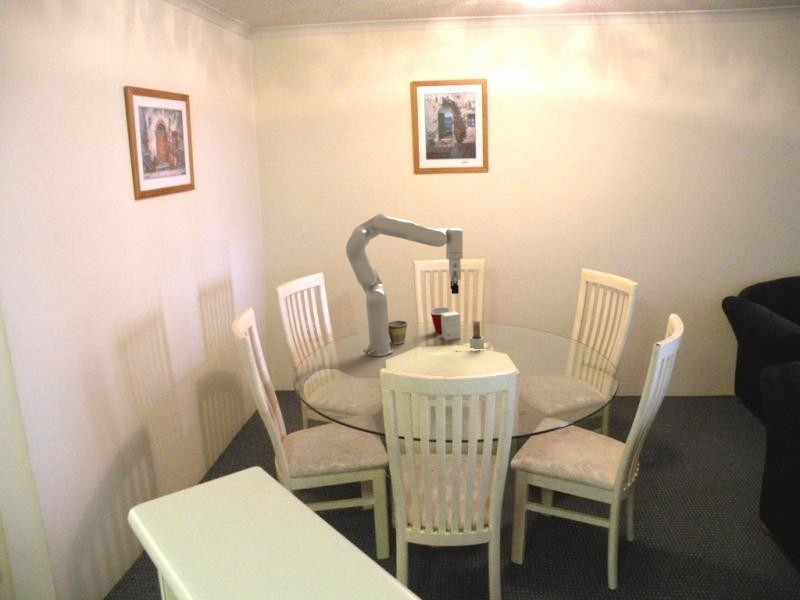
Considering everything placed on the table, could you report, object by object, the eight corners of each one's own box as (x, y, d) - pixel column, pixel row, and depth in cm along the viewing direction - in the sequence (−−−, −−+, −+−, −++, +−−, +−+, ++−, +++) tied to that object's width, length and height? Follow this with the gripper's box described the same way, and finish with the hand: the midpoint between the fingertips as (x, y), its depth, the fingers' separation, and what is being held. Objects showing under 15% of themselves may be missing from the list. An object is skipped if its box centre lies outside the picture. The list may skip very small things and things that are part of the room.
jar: (479, 350, 299) (478, 340, 298) (467, 348, 303) (466, 338, 302) (486, 346, 304) (486, 336, 303) (475, 344, 308) (474, 334, 307)
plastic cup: (426, 333, 334) (424, 310, 331) (440, 328, 341) (439, 306, 338) (441, 336, 326) (440, 313, 323) (455, 331, 333) (455, 309, 330)
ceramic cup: (406, 345, 315) (404, 326, 313) (386, 345, 317) (384, 326, 315) (410, 337, 327) (409, 318, 325) (391, 337, 329) (390, 318, 327)
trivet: (454, 354, 299) (454, 352, 299) (452, 345, 311) (452, 344, 311) (493, 351, 299) (493, 350, 299) (490, 343, 310) (490, 342, 310)
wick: (477, 347, 301) (477, 323, 298) (472, 346, 303) (471, 322, 300) (481, 346, 304) (480, 321, 301) (476, 344, 306) (475, 320, 303)
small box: (457, 335, 326) (455, 311, 323) (461, 339, 320) (460, 314, 317) (441, 338, 324) (440, 313, 321) (445, 341, 318) (444, 316, 315)
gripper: (463, 258, 290) (463, 295, 294) (461, 251, 307) (461, 286, 311) (446, 258, 290) (447, 295, 294) (445, 252, 307) (445, 287, 311)
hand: (454, 291), depth 303 cm, fingers open, 9 cm apart
